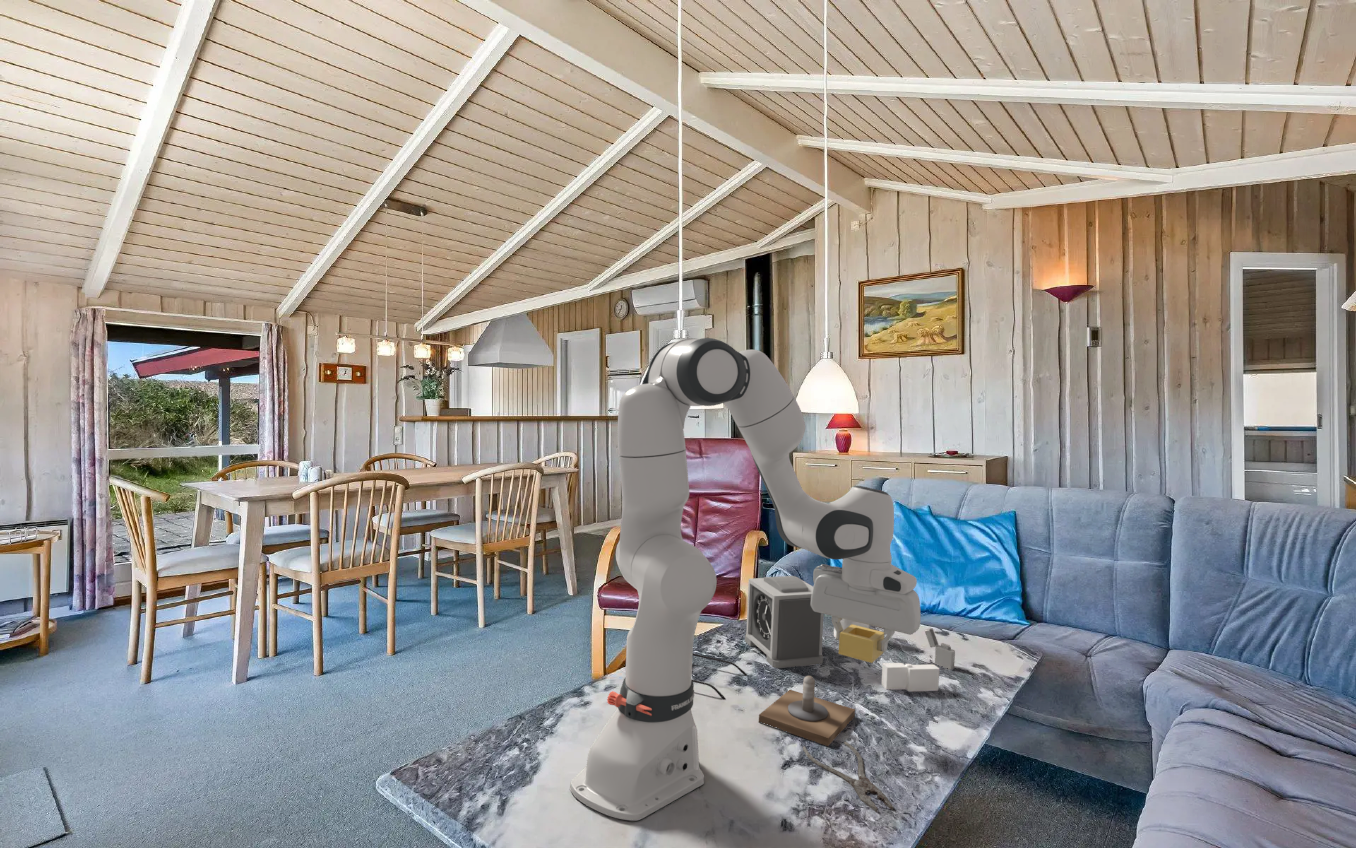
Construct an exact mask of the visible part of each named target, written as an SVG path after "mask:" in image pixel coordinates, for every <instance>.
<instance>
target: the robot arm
mask: <svg viewBox="0 0 1356 848" xmlns="http://www.w3.org/2000/svg"><path fill="white" fill-rule="evenodd" d="M722 404H723V405H725V407H726V409H727V410H729V413H730V414H731V416H732V419H733V421H734V422H735V424H736V426H737V428H738V430H739V432H740V434H741V436H742V437H743V440H744V441H745V443H746V445H747V446H748V449H749V450H750V454H751V457H752V459H753V462H754V465H755V467H756V470H757V472H758V474H759V476H760V478H761V480H762V482H763V484H764V486H765V489H766V492H767V494H768V496H769V498H770V500H771V502H772V506H773V509H774V516H775V522H776V523H775V524H776V528H777V532H778V534H779V536H780V538H781V539H782V540H783V541H784V542H785V544H787V545H789V546H791V547H794V548H798V549H802V550H805V551H808V552H809V553H810V552H811V553H813V554H814V555H819V556H820V557H823V558H826V559H830V560H842V563H841V564H842V566H840V567H839V566H835V565H834V566H833V565H828V564H824V563H822V564H821V565H818V566H816V567H815V568H814V569H813V574H812V576H813V577H812V580H813V585H812V586H813V591H812V596H811V607H812V609H813V611H815V612H819V613H823V614H824V615H828V616H831V623H832V625H833V629H834V628H835V630H836V631H837V632H836V638H835V639H836V641H839V637H840V632H842V631H843V628H842V625H841V623H840V621H841V620H842V618H843V619H847V620H852V621H856V622H860V623H864V624H868V625H869V626H873V627H876V628H877V627H878V628H881V629H883V632H884V635H885V636H884V639H883V640H882V639H880V640H879V641H877V650H878V651H882V652H883V653H886V652H887V650H888V645H889V644H888V643H889V641H890V639H892V637H893V636H894V634H895V632H898V633H902V634H906V635H913V634H915V633H916V632H917V631H919V629H920V626H921V602H920V597H919V595H918V593H917V591H916V590H914V589H915V588H916V586H917V585H918V584H917V583H918V582H917V581H918V580H917V578H916V576H914V575H913V574H910V573H908V571H904V570H903V569H901V568H899V567H898V566H896V565H894V564H892V561H893V559H892V553H891V544H892V541H893V539H894V532H895V531H894V530H895V527H894V526H895V509H894V508H895V507H894V501H893V498H892V497H891V495H890V494H889V493H888V492H886V491H884V490H879V489H876V488H872V487H867V486H862V485H854V486H852V487H850V488H849V489H850V490H849V491H847V493H845V494H844V495H843V496H841V497H840V498H837V499H836V500H833V501H830V502H828V503H827V502H824V501H821V500H818V499H815V498H813V496H811V495H809V494H808V493H806V491H805V490H804V489H803V487H802V486H801V485H802V484H801V483H800V481H799V478H798V476H797V474H796V472H795V470H794V467H793V465H792V463H791V459H790V453H791V452H793V451H794V450H795V449H796V448H797V447H798V446H799V445H800V444H801V442H802V440H803V438H804V436H805V432H806V422H805V419H804V416H803V413H802V410H801V408H800V405H799V404H798V402H797V399H796V398H795V395H794V394H793V393H792V390H791V389H790V387H789V385H788V383H787V382H786V380H785V379H784V377H783V375H782V374H781V372H780V371H779V369H778V368H777V367H776V366H775V364H774V362H772V361H771V359H770V358H769V357H768V355H766V353H764V352H762V351H760V350H758V349H743V350H741V351H737V350H736V349H735V348H734V347H732V346H731V345H730V344H729V343H727V342H725V341H722V340H720V339H716V338H711V337H703V338H692V337H691V338H690V337H689V338H684V339H680V340H677V341H673V342H669V343H667V344H665V345H664V346H661V348H659V349H658V350H657V351H656V352H655V353H654V355H653V356H652V358H651V360H650V362H649V365H648V369H647V371H646V373H645V376H644V378H643V380H642V383H641V384H638V385H635V386H633V387H631V388H630V389H628V390H627V391H625V392H624V393H623V394H622V396H621V397H620V400H619V404H618V405H619V406H618V412H617V413H618V415H617V433H616V434H617V435H616V436H617V453H618V455H617V456H618V463H619V465H618V466H619V474H620V475H619V478H620V485H621V486H620V487H621V500H622V501H621V502H622V504H621V507H622V509H621V522H620V530H619V531H620V533H619V541H618V543H617V545H616V549H615V560H616V563H617V567H618V568H619V571H620V573H621V575H622V577H623V578H624V581H626V582H627V583H628V584H630V586H632V588H634V589H636V590H637V594H638V608H637V612H636V616H635V620H634V623H633V625H632V627H631V628H630V629H629V630H628V633H627V635H626V636H627V637H626V649H625V650H626V652H625V653H626V654H625V655H626V656H625V677H624V678H623V681H622V685H621V687H620V690H619V693H617V692H616V691H613V690H612V691H610V692H609V694H608V695H607V698H606V700H607V702H606V703H608V704H607V705H611V706H615V707H616V709H615V711H614V712H613V713H612V715H611V716H610V717H609V719H608V720H607V722H606V724H605V725H604V726H603V728H602V729H601V731H600V732H599V733H598V735H597V737H596V738H595V740H594V741H593V742H592V744H591V745H590V747H589V750H588V753H587V759H586V766H584V768H583V769H582V770H580V771H579V772H578V774H576V775H575V776H574V777H573V778H572V779H571V780H570V784H569V789H570V791H571V794H572V795H573V796H574V798H576V799H577V800H578V801H580V803H582V804H584V805H585V806H587V807H589V808H591V809H592V810H595V811H597V812H599V813H601V814H603V815H606V816H608V817H612V818H615V819H619V820H625V821H640V820H642V819H644V818H646V817H648V816H650V815H651V814H653V813H654V812H656V811H658V810H660V809H662V808H665V806H667V805H669V804H670V803H672V802H675V800H677V799H680V798H681V797H683V796H685V795H686V794H689V793H690V792H692V791H693V790H695V789H698V788H699V787H701V786H703V785H704V783H705V775H704V773H703V771H702V769H700V761H699V760H700V759H699V757H700V756H699V739H698V737H699V736H698V728H697V725H696V722H695V720H694V716H693V712H692V708H693V706H694V698H695V690H694V682H693V681H692V680H693V679H692V674H693V673H692V670H693V654H694V652H693V651H694V638H695V634H696V629H697V626H698V622H699V619H700V616H701V613H702V611H703V610H704V609H705V608H706V607H707V606H708V605H709V604H710V603H711V601H712V599H713V598H714V595H715V593H716V589H717V583H718V582H717V574H716V571H715V569H714V567H713V565H712V564H711V562H710V560H709V559H708V558H707V557H706V555H705V554H704V553H703V552H702V551H701V549H699V548H697V546H696V545H695V546H694V545H692V544H691V543H689V542H687V541H685V540H684V539H683V536H682V535H683V534H682V526H681V525H682V520H683V513H684V508H685V506H686V503H687V502H688V500H689V498H690V484H689V473H688V460H687V449H686V439H685V431H684V429H685V422H686V418H687V415H688V412H689V410H690V409H691V407H702V406H703V407H704V406H705V407H712V406H713V407H714V406H718V405H722Z"/></svg>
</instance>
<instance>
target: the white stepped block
mask: <svg viewBox="0 0 1356 848" xmlns="http://www.w3.org/2000/svg"><path fill="white" fill-rule="evenodd" d="M881 668H882V669H881V671H882V672H881V686H882V687H883V688H884V689H885V690H887V689H888V690H889V689H891V690H906V691H907V692H938V691H939V683H940V682H939V681H940V667H939V666H937V665H935V664H911V663H905V664H904V663H903V662H885V663H884V662H882V667H881ZM888 690H887V691H888ZM891 690H890V691H891Z"/></svg>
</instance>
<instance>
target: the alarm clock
mask: <svg viewBox="0 0 1356 848" xmlns="http://www.w3.org/2000/svg"><path fill="white" fill-rule="evenodd" d="M747 583H748V585H747V586H748V588H747V608H746V609H747V611H746V632H745V635H744V642H745V644H747V645H748V646H749V647H758V649H759V650H760V651H762V652H763V653H764V654H765V655H766V658H765V659H766V660H765V661H766V662H767V664H769V665H770V666H771V667H772V668H775V669H784V668H785V669H786V668H794V667H795V666H796V667H805V666H815V665H816V664H818V665H822V664H823V663H824V655H823V637H824V636H823V635H824V633H823V632H824V615H825V614H823V613H819V612H815V611H813V609H812V607H811V596H812V591H813V586H814V585H811V584H809V583H807V582H806V581H804V580H803V579H802V578H799V577H797V576H795V575H783V576H765V577H759V578H755V577H754V578H748V582H747ZM796 667H795V668H796Z"/></svg>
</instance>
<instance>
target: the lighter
mask: <svg viewBox="0 0 1356 848" xmlns="http://www.w3.org/2000/svg"><path fill="white" fill-rule="evenodd" d="M924 633H925V637H926V639H927V642H928V644H929V647H930V648H935V652H934V654H935V655H934V665H935V664H937V665H936V666H938V665H939V666H938V667H941V666H943V667H942V668H944V667H945V668H944V669H947V668H948V669H947V670H950V669H952V670H954V669H955V662H956V661H955V659H956V658H955V657H956V650H955V649H952V647H951V646H950V644H947V643H944V642H942V643H940V644H939V642H938V639H937V636H936V633H935V631H934V628H933V627H930V628H927V629H924Z"/></svg>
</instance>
